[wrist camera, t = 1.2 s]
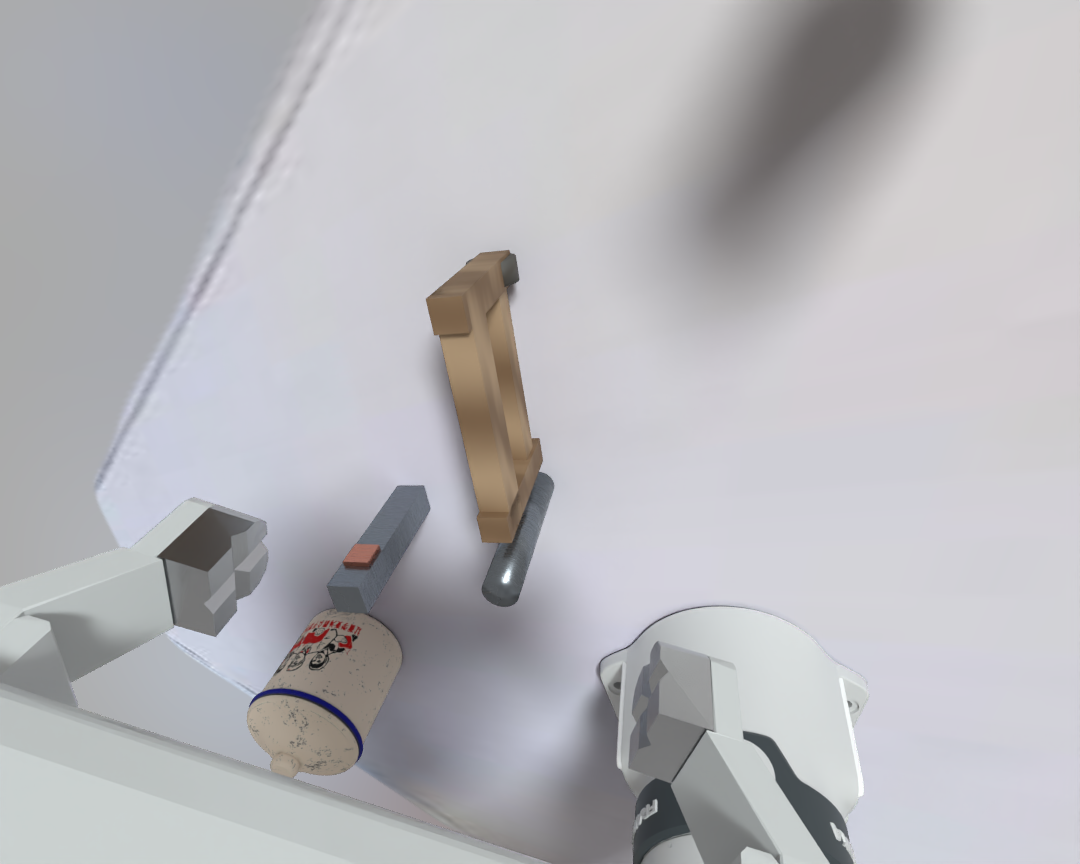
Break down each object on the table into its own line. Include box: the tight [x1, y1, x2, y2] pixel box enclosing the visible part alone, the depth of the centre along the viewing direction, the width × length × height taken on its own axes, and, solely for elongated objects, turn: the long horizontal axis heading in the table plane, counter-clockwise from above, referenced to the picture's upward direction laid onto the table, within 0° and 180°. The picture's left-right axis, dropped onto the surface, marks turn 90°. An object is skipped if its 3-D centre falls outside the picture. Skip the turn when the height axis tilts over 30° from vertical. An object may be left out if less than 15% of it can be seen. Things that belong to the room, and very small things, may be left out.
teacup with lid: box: [247, 609, 402, 778], centre depth 48 cm, size 12×9×12 cm
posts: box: [327, 472, 554, 614], centre depth 37 cm, size 3×11×10 cm, turn 98°
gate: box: [426, 250, 543, 543], centre depth 32 cm, size 13×3×8 cm, turn 8°
